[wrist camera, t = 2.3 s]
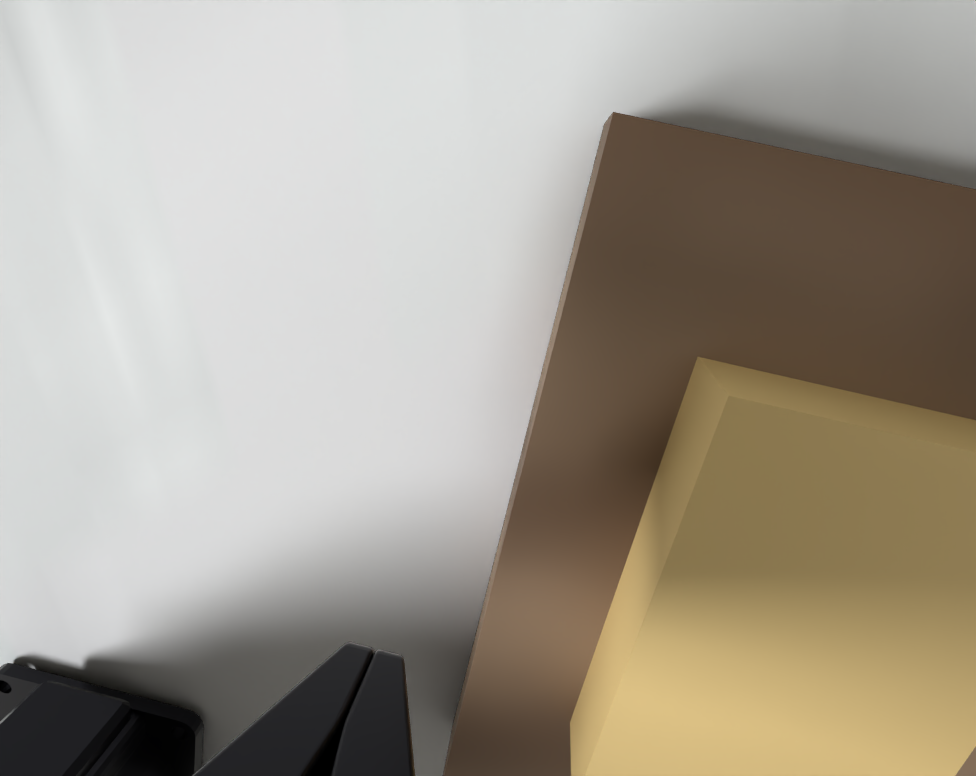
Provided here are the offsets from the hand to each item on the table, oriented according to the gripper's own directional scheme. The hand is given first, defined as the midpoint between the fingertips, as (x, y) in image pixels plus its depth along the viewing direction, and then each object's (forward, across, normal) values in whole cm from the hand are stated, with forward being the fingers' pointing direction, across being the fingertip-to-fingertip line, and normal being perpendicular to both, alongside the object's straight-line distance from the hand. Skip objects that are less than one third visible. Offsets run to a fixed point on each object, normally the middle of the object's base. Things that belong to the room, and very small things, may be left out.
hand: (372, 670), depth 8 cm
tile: (+4, -7, 0) cm, 8 cm away
